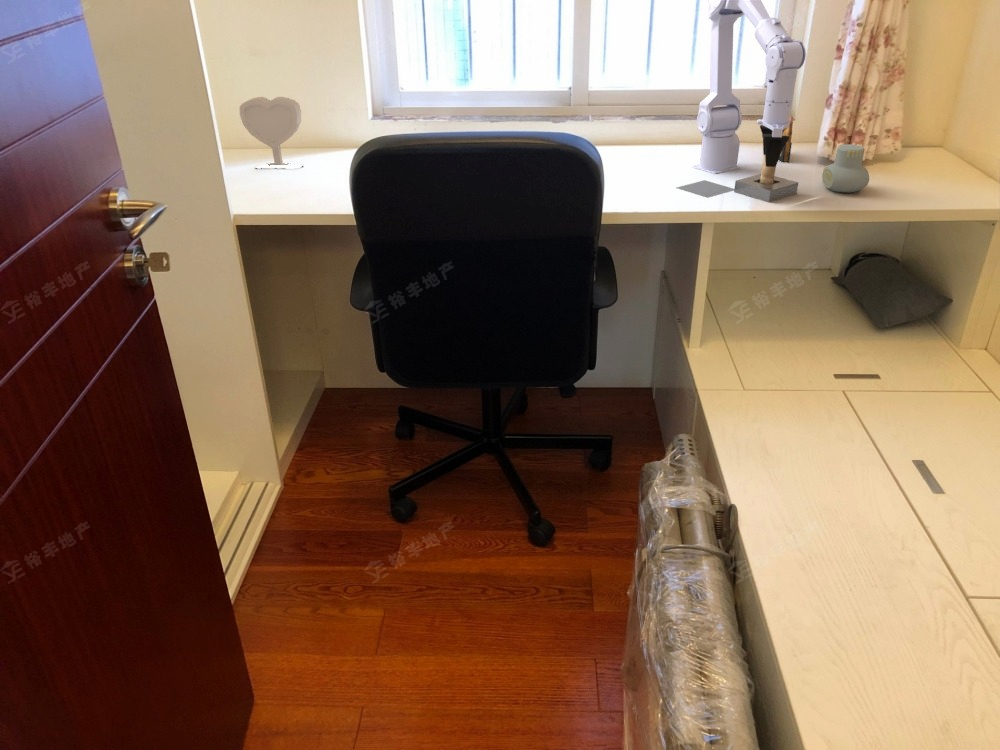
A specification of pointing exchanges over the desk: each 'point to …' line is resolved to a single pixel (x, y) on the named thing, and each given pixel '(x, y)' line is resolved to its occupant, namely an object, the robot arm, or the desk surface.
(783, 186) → the square hole block
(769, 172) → the peg
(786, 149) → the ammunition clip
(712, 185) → the mat
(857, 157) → the air freshener
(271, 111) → the heart sculpture
